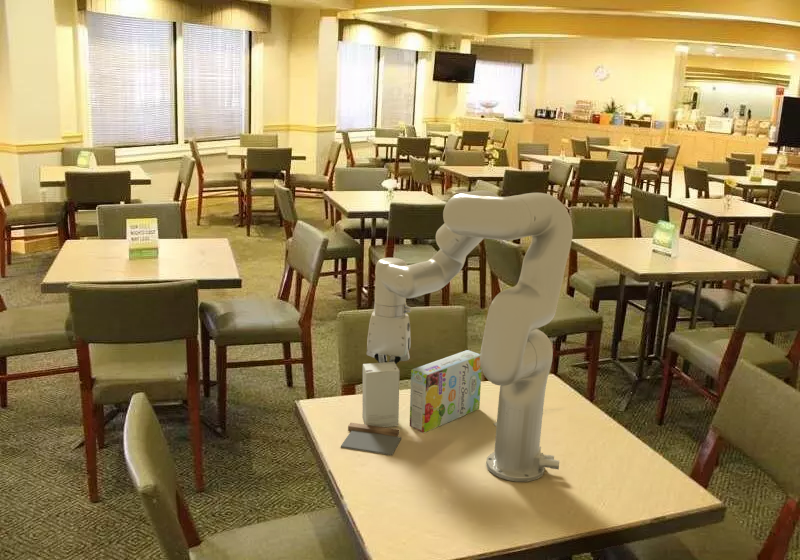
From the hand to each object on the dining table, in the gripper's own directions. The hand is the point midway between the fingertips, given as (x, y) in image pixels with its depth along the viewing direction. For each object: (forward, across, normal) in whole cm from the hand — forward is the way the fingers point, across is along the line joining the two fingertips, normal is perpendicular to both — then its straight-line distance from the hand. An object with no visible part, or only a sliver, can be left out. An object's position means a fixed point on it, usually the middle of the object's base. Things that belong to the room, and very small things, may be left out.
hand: (387, 379), depth 186 cm
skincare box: (+9, 0, +6) cm, 11 cm away
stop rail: (+9, 0, +11) cm, 14 cm away
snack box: (+9, -15, -3) cm, 18 cm away
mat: (+9, -1, +16) cm, 19 cm away
